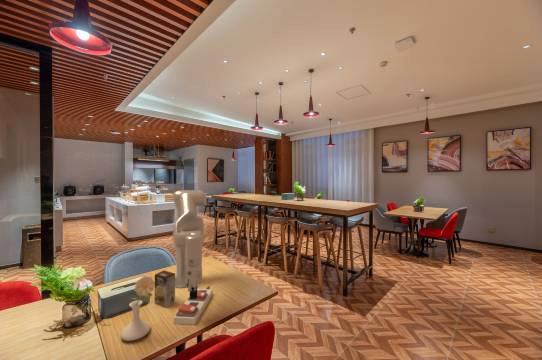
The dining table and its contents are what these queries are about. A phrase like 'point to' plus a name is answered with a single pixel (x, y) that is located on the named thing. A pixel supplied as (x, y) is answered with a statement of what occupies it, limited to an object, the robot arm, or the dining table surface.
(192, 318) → the power strip
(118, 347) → the dining table surface
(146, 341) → the dining table surface
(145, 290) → the flower in vase
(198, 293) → the far rocker
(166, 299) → the coffee box
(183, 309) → the near rocker
